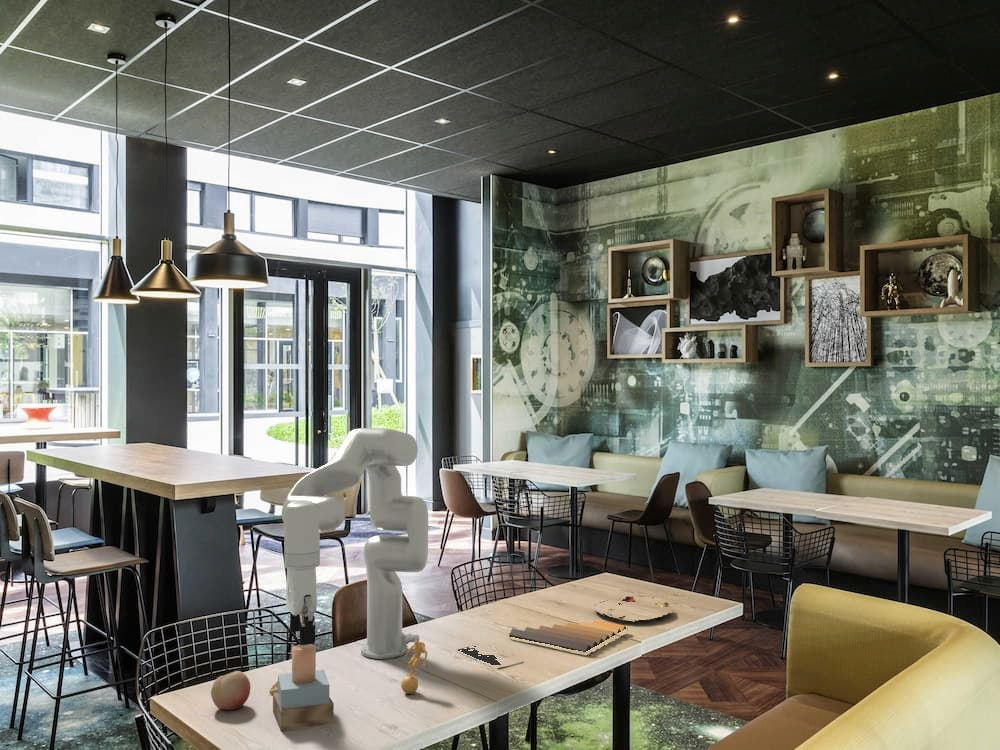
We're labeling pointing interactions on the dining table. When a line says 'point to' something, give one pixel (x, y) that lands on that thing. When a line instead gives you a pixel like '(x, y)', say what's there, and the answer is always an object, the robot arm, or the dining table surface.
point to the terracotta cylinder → (303, 664)
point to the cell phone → (483, 657)
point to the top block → (303, 691)
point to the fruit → (230, 690)
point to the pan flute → (571, 634)
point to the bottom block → (302, 715)
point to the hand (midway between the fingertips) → (302, 637)
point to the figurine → (413, 668)
